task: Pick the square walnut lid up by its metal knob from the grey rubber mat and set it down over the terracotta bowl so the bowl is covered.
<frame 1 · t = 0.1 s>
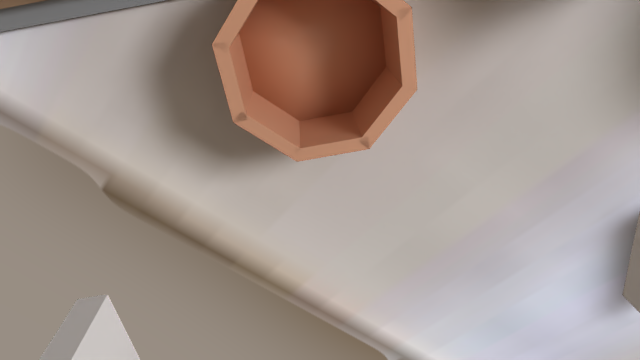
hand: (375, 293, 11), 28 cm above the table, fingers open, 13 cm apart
bowl: (313, 48, 35), on the table
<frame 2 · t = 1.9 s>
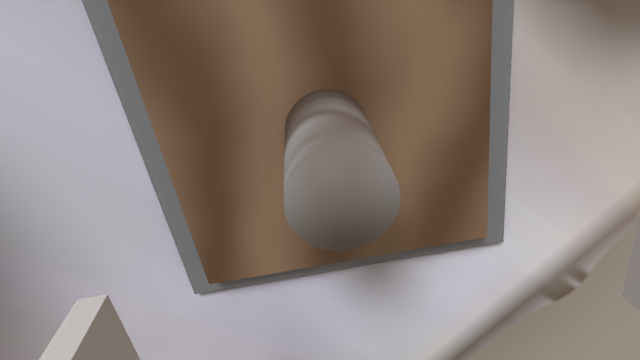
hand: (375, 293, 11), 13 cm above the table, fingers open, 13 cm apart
mat: (323, 118, 23), on the table
lid: (324, 121, 22), resting on mat
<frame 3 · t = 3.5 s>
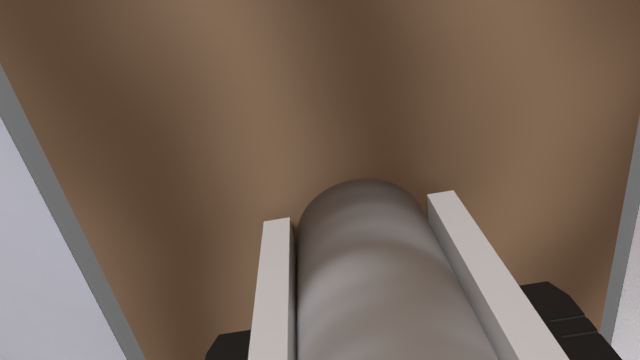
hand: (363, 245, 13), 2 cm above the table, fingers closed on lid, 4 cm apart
mat: (354, 208, 15), on the table
lid: (356, 216, 14), resting on mat, touching gripper
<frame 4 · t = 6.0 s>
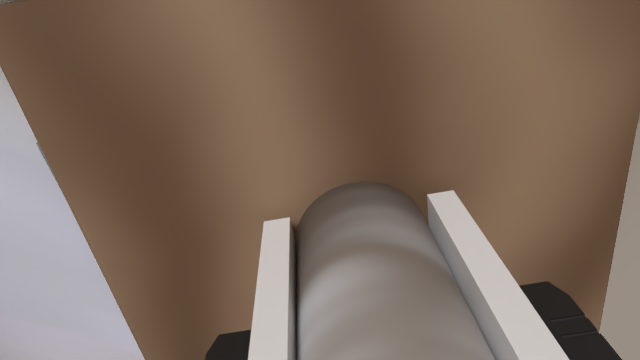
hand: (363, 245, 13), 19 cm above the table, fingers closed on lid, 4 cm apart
lid: (356, 218, 14), point 18 cm above the table, touching gripper
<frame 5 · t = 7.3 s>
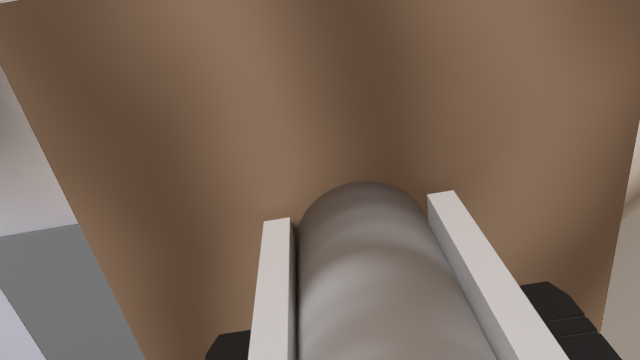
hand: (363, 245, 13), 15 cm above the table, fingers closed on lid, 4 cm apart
mat: (161, 321, 33), on the table
lid: (357, 218, 14), point 13 cm above the table, touching gripper
when the fingers open (10 cm above the table, at t = 8.3 s): lid drops 1 cm, resting on bowl.
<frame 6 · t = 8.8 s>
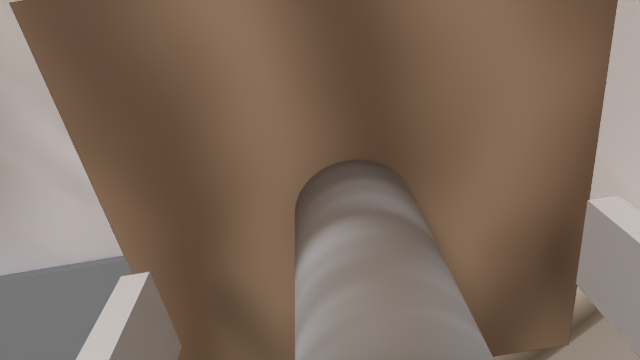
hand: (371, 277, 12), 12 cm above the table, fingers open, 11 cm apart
lid: (350, 196, 16), point 7 cm above the table, touching bowl
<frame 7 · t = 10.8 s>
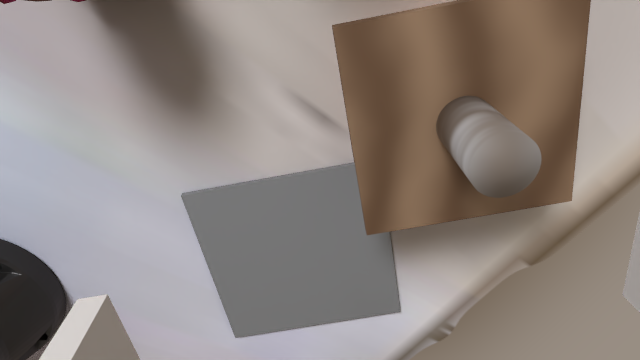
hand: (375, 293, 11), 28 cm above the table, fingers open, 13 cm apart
mat: (300, 255, 46), on the table
lid: (459, 117, 32), point 7 cm above the table, touching bowl
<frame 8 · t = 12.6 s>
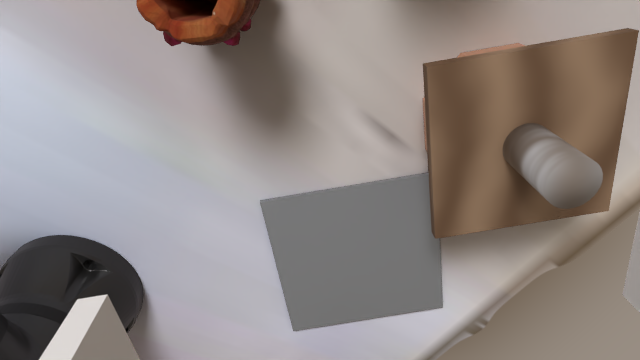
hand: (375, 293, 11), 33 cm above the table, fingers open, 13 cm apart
mat: (358, 256, 51), on the table
bowl: (488, 113, 44), on the table
lid: (519, 140, 38), point 7 cm above the table, touching bowl
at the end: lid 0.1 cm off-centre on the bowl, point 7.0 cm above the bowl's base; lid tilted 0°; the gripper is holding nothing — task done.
